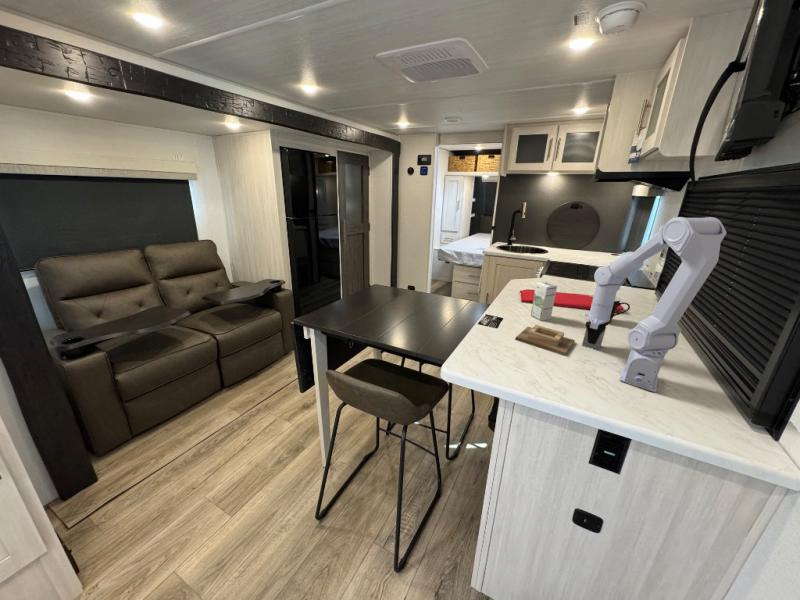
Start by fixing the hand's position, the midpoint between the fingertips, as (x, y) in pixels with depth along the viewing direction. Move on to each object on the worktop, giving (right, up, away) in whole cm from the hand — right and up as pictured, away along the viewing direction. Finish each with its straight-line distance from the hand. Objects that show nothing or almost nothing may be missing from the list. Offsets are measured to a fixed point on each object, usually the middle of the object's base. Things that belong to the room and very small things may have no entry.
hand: (592, 341), depth 103 cm
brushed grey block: (0, -2, +1) cm, 2 cm away
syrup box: (-7, +7, +24) cm, 25 cm away
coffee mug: (+18, +5, +21) cm, 28 cm away
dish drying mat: (+14, +12, +41) cm, 45 cm away
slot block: (-14, 0, +4) cm, 15 cm away
